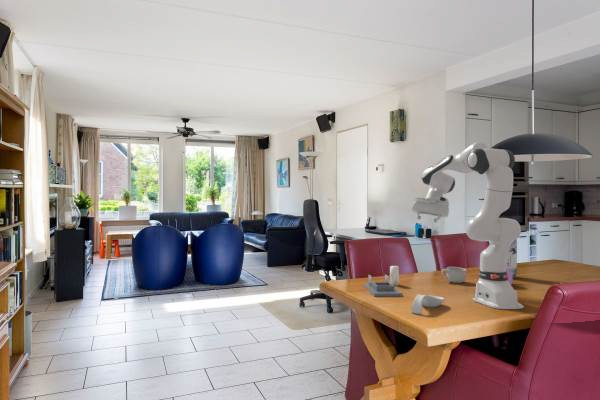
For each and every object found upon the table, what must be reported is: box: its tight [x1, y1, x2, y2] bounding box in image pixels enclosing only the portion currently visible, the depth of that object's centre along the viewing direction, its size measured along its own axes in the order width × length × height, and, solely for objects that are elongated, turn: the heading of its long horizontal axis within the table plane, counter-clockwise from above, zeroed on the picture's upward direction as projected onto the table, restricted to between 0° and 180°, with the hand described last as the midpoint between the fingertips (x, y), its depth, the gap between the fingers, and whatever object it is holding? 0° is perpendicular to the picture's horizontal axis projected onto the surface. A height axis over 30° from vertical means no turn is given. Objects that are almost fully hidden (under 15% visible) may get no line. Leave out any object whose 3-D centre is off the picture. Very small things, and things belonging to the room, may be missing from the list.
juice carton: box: [506, 238, 518, 280], centre depth 250 cm, size 9×10×27 cm
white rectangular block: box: [389, 265, 400, 286], centre depth 227 cm, size 5×5×10 cm
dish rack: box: [363, 274, 404, 298], centre depth 211 cm, size 24×14×6 cm, turn 4°
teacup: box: [441, 266, 467, 284], centre depth 234 cm, size 14×11×8 cm
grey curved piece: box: [410, 293, 445, 315], centre depth 179 cm, size 24×12×7 cm, turn 145°
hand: (426, 220), depth 230 cm, fingers open, 8 cm apart
